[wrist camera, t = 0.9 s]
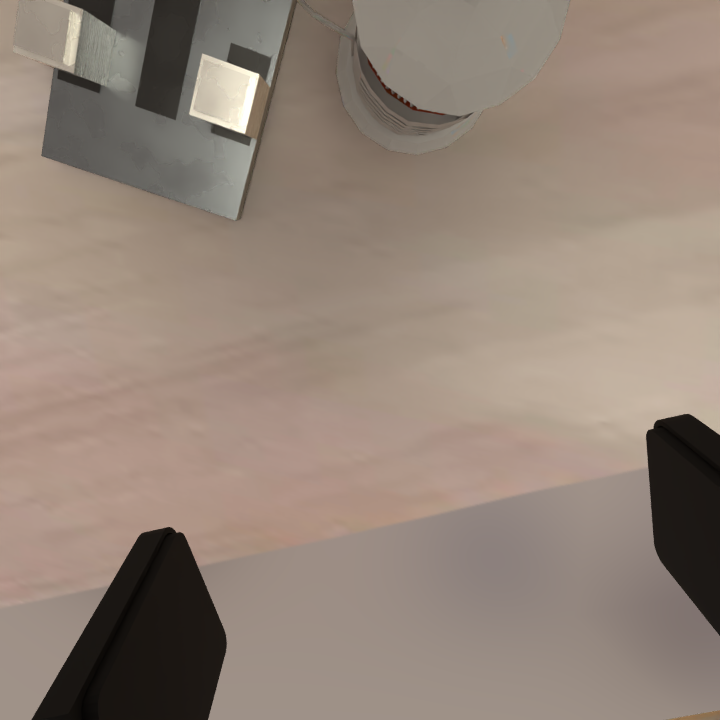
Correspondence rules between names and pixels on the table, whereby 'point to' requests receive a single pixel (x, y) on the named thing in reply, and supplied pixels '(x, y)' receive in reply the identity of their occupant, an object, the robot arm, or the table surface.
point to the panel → (159, 90)
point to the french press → (438, 63)
